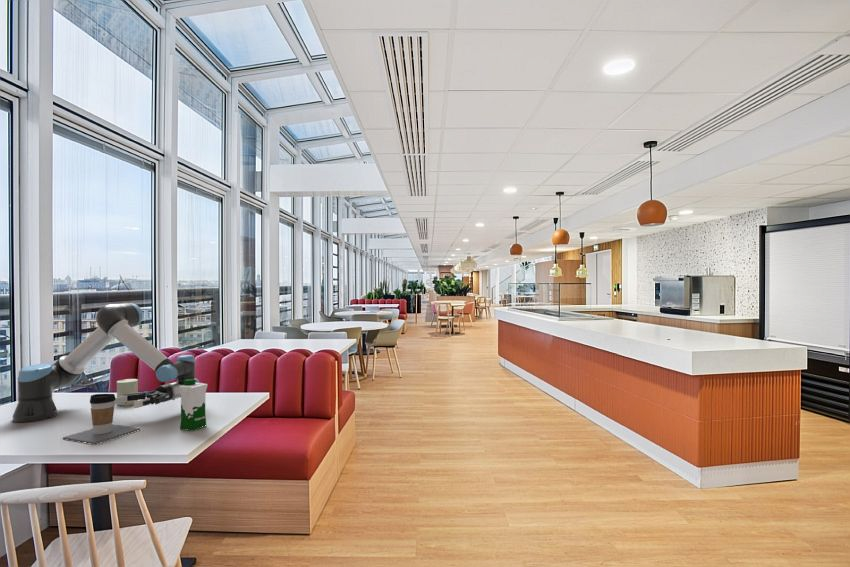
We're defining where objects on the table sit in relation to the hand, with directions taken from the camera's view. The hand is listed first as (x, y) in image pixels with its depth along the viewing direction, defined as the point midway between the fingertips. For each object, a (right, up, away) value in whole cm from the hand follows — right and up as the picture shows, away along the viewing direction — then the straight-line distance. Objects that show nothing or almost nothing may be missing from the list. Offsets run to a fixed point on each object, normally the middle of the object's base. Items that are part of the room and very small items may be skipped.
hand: (122, 403), depth 186 cm
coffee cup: (-3, -10, -7) cm, 13 cm away
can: (-26, -11, +41) cm, 50 cm away
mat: (-3, -10, -8) cm, 13 cm away
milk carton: (+29, -11, +1) cm, 31 cm away
